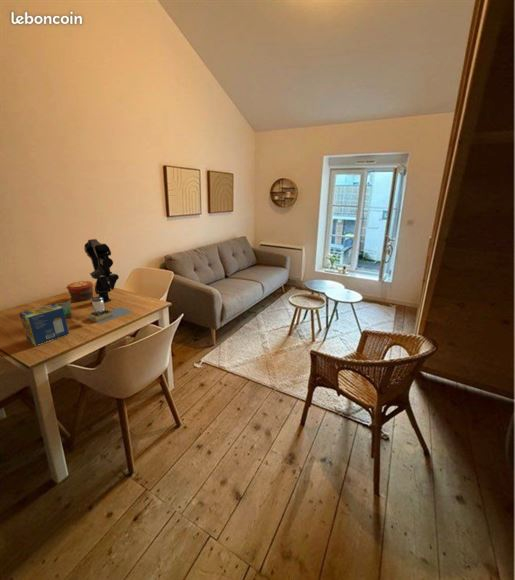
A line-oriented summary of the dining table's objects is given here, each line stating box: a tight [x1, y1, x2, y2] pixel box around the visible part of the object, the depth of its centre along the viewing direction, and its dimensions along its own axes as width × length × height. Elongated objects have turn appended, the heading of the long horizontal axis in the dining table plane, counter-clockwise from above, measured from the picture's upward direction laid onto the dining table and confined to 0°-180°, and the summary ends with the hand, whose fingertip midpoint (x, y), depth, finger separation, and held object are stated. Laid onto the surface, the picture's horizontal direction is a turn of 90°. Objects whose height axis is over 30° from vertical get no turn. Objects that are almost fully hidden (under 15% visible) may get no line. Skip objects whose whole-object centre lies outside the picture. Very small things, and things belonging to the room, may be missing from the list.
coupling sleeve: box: [91, 295, 106, 316], centre depth 165 cm, size 6×6×12 cm
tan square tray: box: [87, 308, 113, 323], centre depth 167 cm, size 10×10×3 cm
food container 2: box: [65, 280, 94, 302], centre depth 201 cm, size 16×16×11 cm
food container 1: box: [54, 300, 72, 320], centre depth 167 cm, size 12×6×10 cm, turn 143°
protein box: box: [18, 303, 70, 346], centre depth 144 cm, size 10×15×16 cm
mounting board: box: [86, 306, 134, 325], centre depth 171 cm, size 14×21×1 cm, turn 146°
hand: (108, 288), depth 181 cm, fingers open, 9 cm apart
